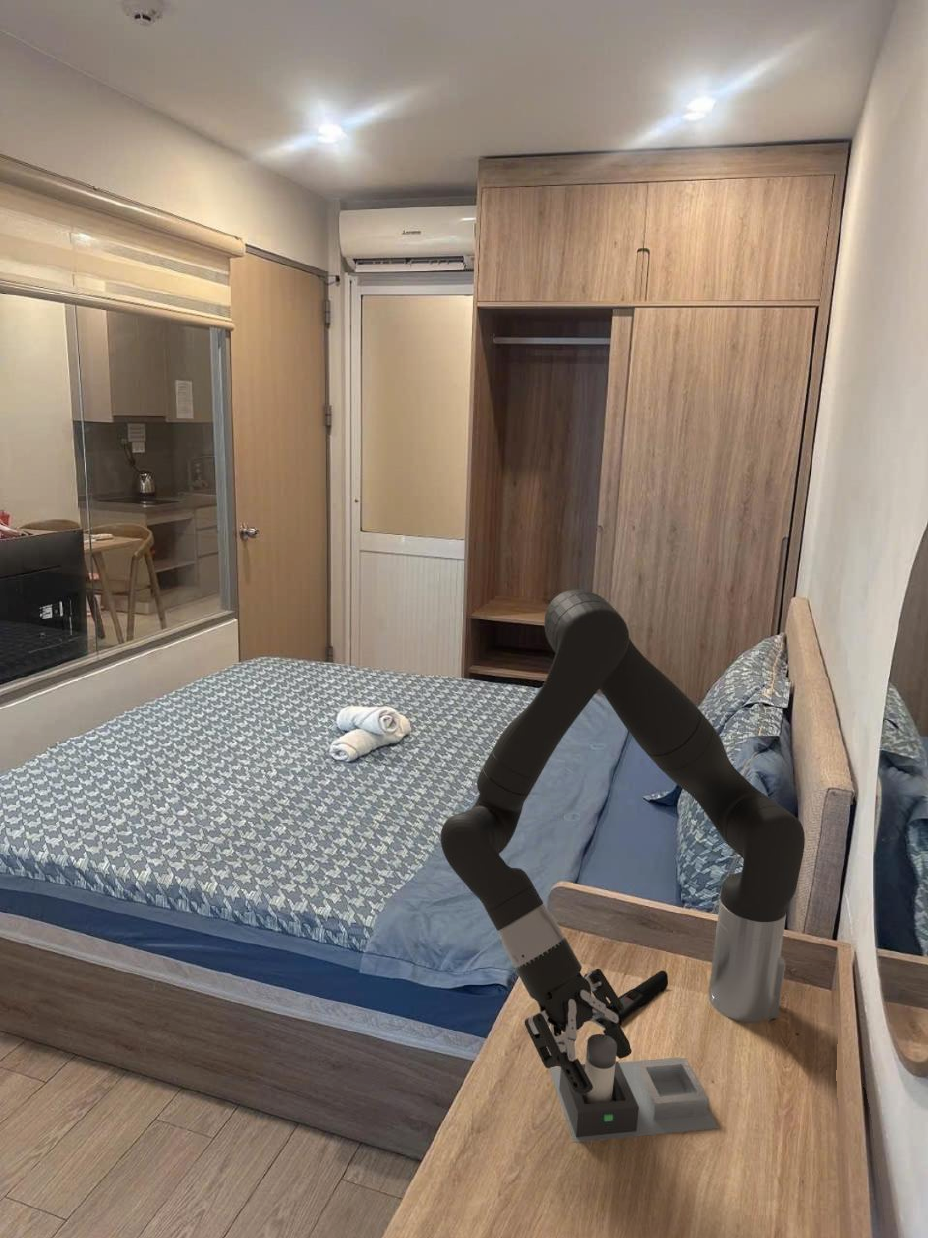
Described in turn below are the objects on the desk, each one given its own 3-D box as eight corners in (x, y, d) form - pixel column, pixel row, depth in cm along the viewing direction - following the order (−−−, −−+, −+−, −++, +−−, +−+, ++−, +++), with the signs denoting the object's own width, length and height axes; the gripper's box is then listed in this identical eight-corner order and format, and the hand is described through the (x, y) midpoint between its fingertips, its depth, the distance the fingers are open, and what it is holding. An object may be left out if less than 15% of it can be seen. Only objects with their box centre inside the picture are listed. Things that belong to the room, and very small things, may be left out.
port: (615, 1084, 112) (617, 1061, 111) (637, 1133, 105) (639, 1109, 104) (559, 1089, 111) (561, 1066, 110) (576, 1139, 103) (578, 1115, 103)
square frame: (684, 1074, 114) (685, 1058, 114) (706, 1115, 108) (708, 1098, 107) (633, 1078, 113) (635, 1062, 113) (653, 1120, 107) (655, 1103, 106)
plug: (605, 1097, 110) (611, 1032, 108) (614, 1119, 107) (621, 1053, 104) (577, 1100, 109) (583, 1035, 107) (586, 1122, 106) (592, 1056, 104)
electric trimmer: (673, 994, 133) (676, 976, 132) (612, 1039, 122) (614, 1019, 122) (653, 982, 135) (655, 964, 135) (591, 1025, 125) (593, 1006, 124)
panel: (679, 1063, 118) (679, 1057, 117) (718, 1134, 106) (719, 1128, 106) (548, 1075, 115) (548, 1068, 114) (573, 1149, 103) (574, 1142, 103)
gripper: (521, 965, 103) (593, 1099, 98) (589, 918, 114) (658, 1037, 109) (485, 983, 108) (553, 1112, 103) (554, 937, 118) (618, 1051, 113)
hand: (607, 1073), depth 106 cm, fingers open, 8 cm apart
